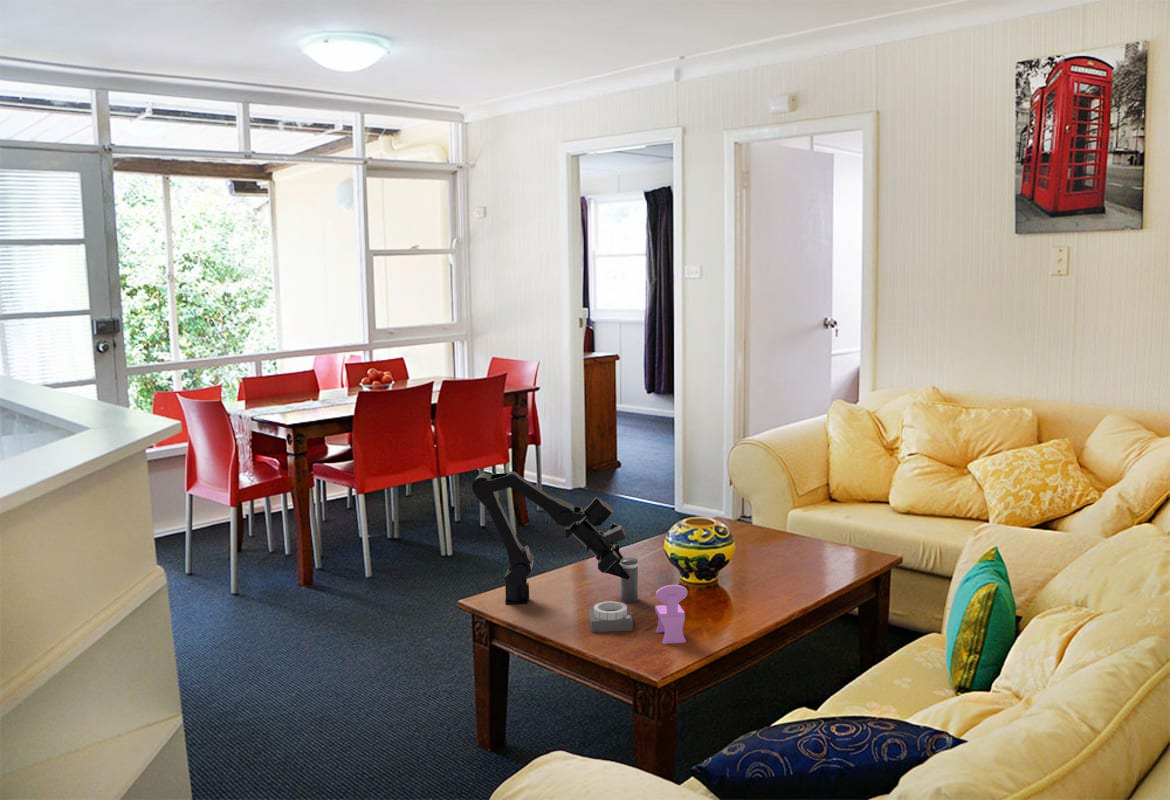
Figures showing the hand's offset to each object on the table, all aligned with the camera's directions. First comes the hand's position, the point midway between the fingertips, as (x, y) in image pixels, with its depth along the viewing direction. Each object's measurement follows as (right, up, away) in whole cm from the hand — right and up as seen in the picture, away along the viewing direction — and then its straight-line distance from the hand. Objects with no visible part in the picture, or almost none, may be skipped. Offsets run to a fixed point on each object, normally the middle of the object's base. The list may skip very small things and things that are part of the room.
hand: (628, 573), depth 277 cm
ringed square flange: (-6, -11, -18) cm, 22 cm away
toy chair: (+10, -12, -27) cm, 31 cm away
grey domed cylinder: (0, -8, +1) cm, 8 cm away
